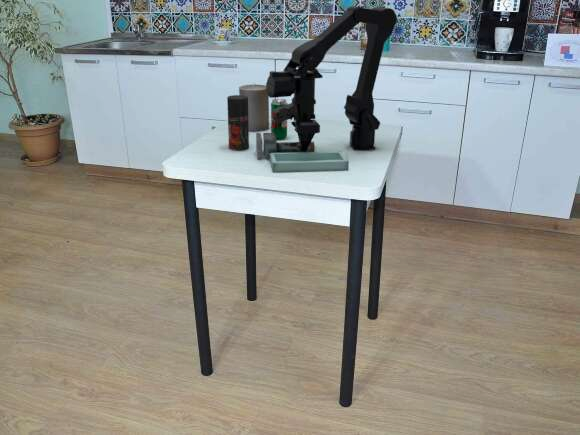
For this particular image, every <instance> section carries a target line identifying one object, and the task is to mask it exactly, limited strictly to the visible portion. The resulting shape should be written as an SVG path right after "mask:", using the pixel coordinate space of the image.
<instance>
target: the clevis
mask: <svg viewBox="0 0 580 435" xmlns="http://www.w3.org/2000/svg"><path fill="white" fill-rule="evenodd" d="M255 139H256V140H255V148H256V149H255V150H256V157H257V160H258V161H260V160H261V161H262V160H263V154H264V156H265V157H264V158H265V161H266V160H267V161H268V160H269V161H270V153H276V149H277V141H278V140H276V137H275V135H274V133H271V132H263V137H262V134H261V132H255ZM264 144H265V150H264V149H263V148H264Z"/></svg>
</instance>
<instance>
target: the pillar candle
mask: <svg viewBox="0 0 580 435" xmlns="http://www.w3.org/2000/svg"><path fill="white" fill-rule="evenodd" d="M238 93H239V94H238V95H243V96H247V97H248V120H249V132H251V133H252V132H255V133H258V132H262V131H266V130H269V129H270V104H269V103H270V100H269V98H270V97H269V96H268V94H267V89H266V84H256V83H255V82H254V83H253V84H244V85H240V86H239V87H238Z"/></svg>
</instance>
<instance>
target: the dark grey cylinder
mask: <svg viewBox="0 0 580 435" xmlns="http://www.w3.org/2000/svg"><path fill="white" fill-rule="evenodd" d="M315 149H316V147H315V142H314V141H311V143H310V145H309V147H308V149H307V151H306V152H316V151H315ZM264 150H265V144H264V147H263V151H264ZM292 152H302V147H301V142H299V141H286V142H281V141H279V142H277V149H276V153H292Z"/></svg>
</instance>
